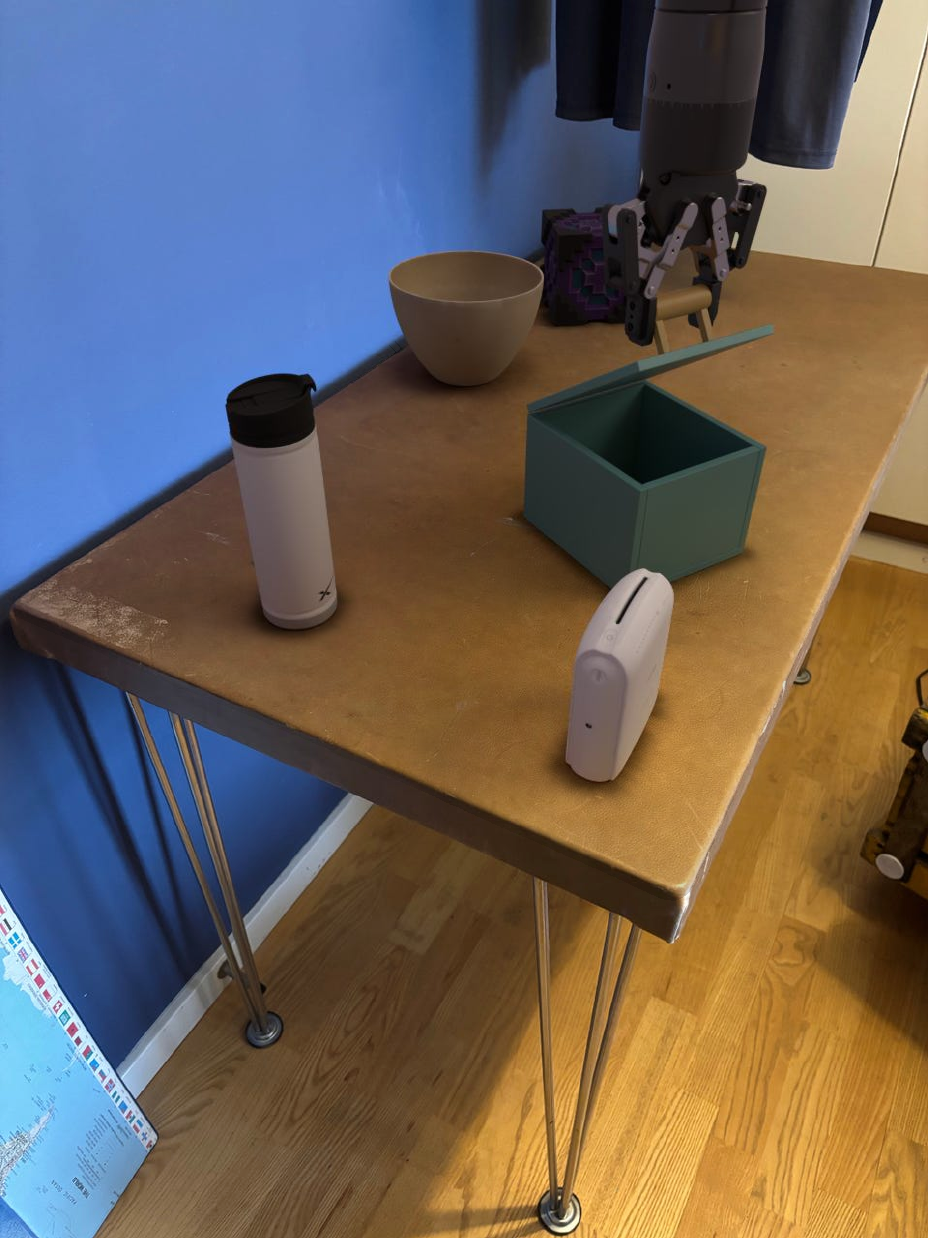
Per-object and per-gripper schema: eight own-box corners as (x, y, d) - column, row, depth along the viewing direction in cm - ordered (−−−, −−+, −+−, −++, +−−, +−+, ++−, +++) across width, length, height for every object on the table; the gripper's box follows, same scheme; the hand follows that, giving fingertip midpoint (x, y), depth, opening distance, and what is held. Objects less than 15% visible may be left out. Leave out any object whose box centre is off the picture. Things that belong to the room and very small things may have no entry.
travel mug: (350, 619, 76) (325, 395, 63) (272, 638, 74) (230, 411, 61) (330, 577, 80) (303, 360, 68) (256, 595, 78) (214, 375, 66)
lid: (775, 333, 71) (758, 265, 70) (639, 371, 66) (620, 298, 65) (647, 378, 86) (632, 322, 85) (528, 413, 81) (511, 354, 80)
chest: (743, 553, 83) (767, 446, 76) (625, 601, 77) (640, 491, 70) (633, 478, 93) (645, 379, 86) (522, 516, 88) (526, 413, 81)
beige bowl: (469, 419, 104) (468, 313, 96) (364, 374, 113) (356, 274, 106) (568, 371, 114) (575, 271, 106) (464, 333, 123) (463, 240, 116)
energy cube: (538, 295, 134) (542, 209, 127) (618, 291, 135) (626, 205, 128) (554, 326, 125) (559, 235, 118) (639, 321, 126) (649, 231, 119)
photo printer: (615, 793, 61) (636, 654, 53) (556, 771, 63) (568, 633, 55) (663, 698, 68) (688, 563, 60) (609, 680, 70) (626, 546, 62)
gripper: (654, 107, 56) (629, 370, 66) (818, 84, 62) (771, 330, 72) (580, 92, 61) (568, 339, 71) (738, 72, 67) (705, 303, 77)
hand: (670, 333), depth 72 cm, fingers closed on lid, 5 cm apart
